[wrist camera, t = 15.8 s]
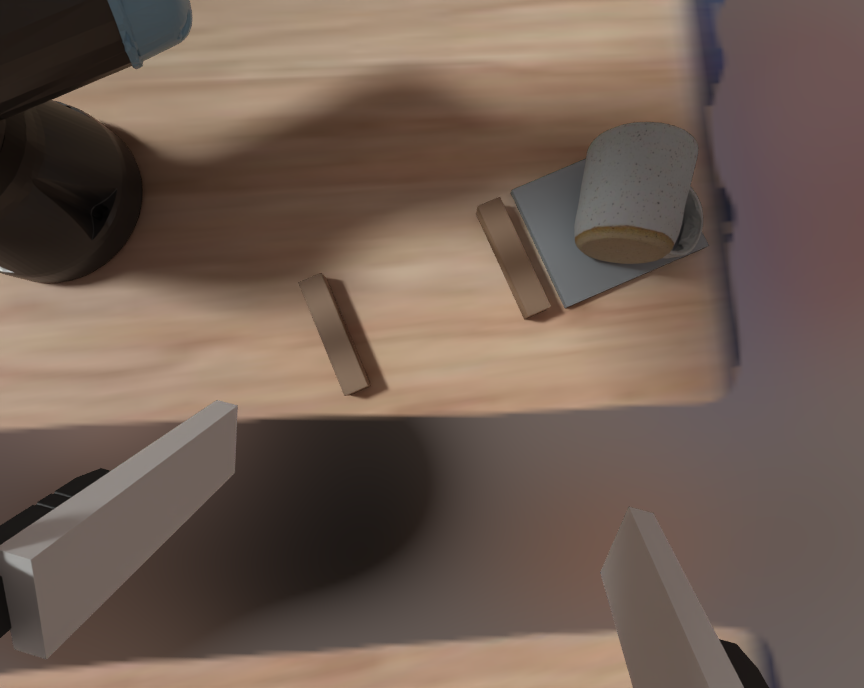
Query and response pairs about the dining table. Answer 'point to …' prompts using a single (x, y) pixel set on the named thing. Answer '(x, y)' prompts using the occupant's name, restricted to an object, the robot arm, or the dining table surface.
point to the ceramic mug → (639, 195)
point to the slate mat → (573, 237)
